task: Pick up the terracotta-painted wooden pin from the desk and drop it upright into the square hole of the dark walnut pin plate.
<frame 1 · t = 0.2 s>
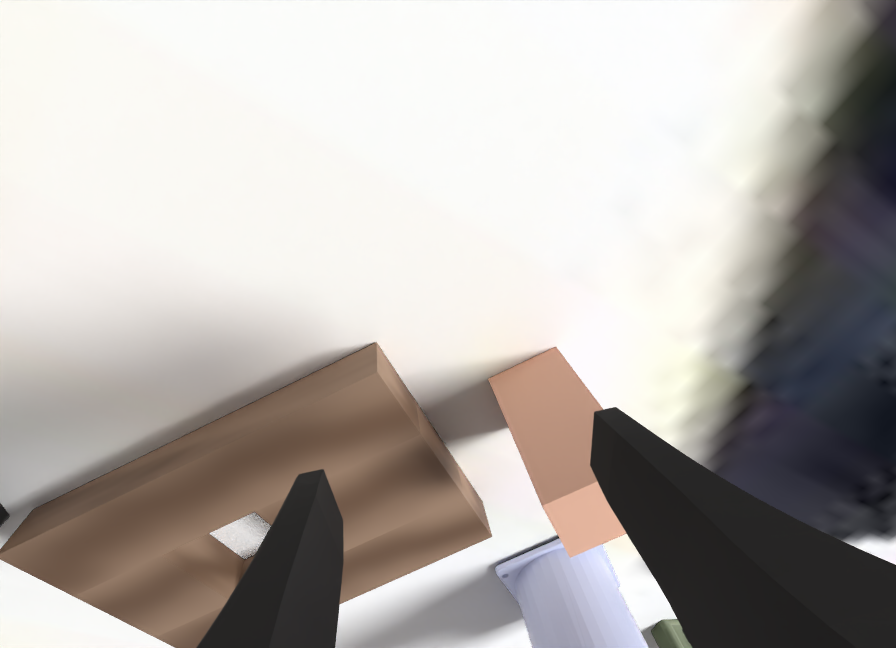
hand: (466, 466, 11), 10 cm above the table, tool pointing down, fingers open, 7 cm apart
pin plate: (284, 505, 24), on the table
handheld radio: (745, 617, 44), on the table
pin: (533, 388, 23), on the table
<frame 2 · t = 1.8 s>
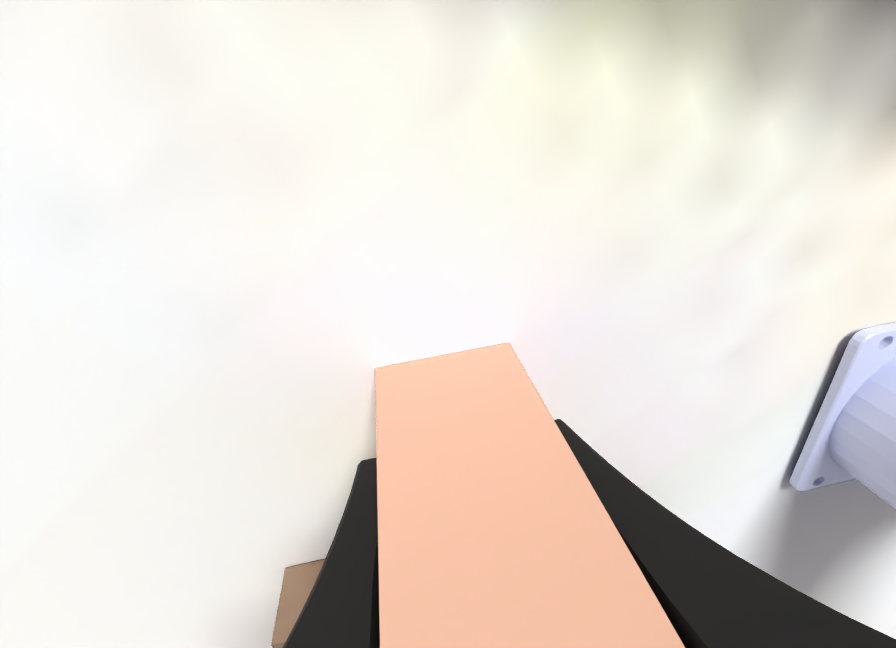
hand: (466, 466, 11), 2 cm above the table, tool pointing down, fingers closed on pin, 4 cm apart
pin: (450, 407, 13), on the table, touching gripper
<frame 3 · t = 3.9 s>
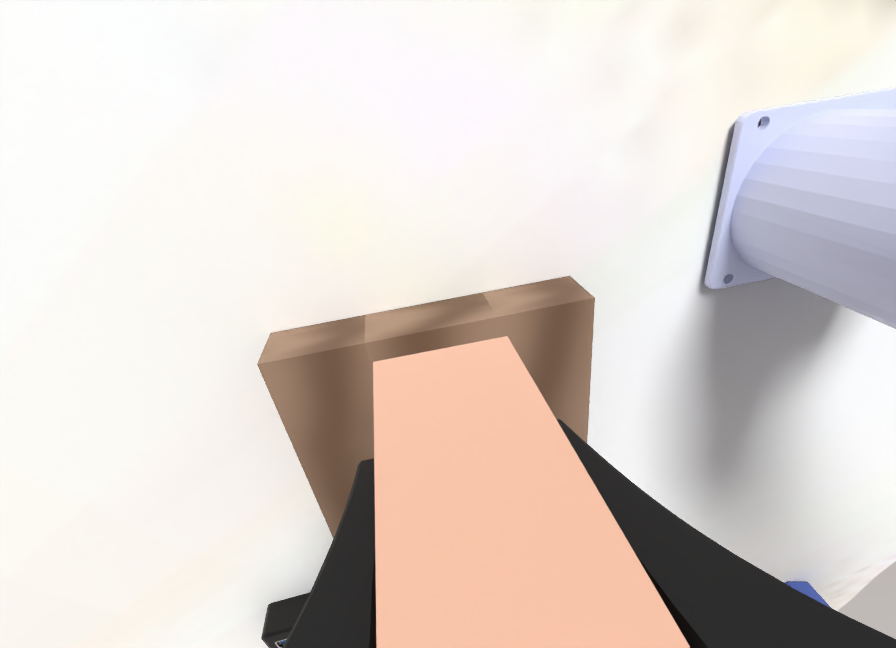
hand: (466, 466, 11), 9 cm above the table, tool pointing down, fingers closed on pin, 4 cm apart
multiport hub: (332, 636, 32), on the table
pin plate: (451, 456, 24), on the table
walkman: (771, 602, 41), on the table
pin: (449, 401, 13), point 7 cm above the table, touching gripper
when the fingers open (4 cm above the table, at t = 6.2 s): pin drops 1 cm, resting in pin plate.
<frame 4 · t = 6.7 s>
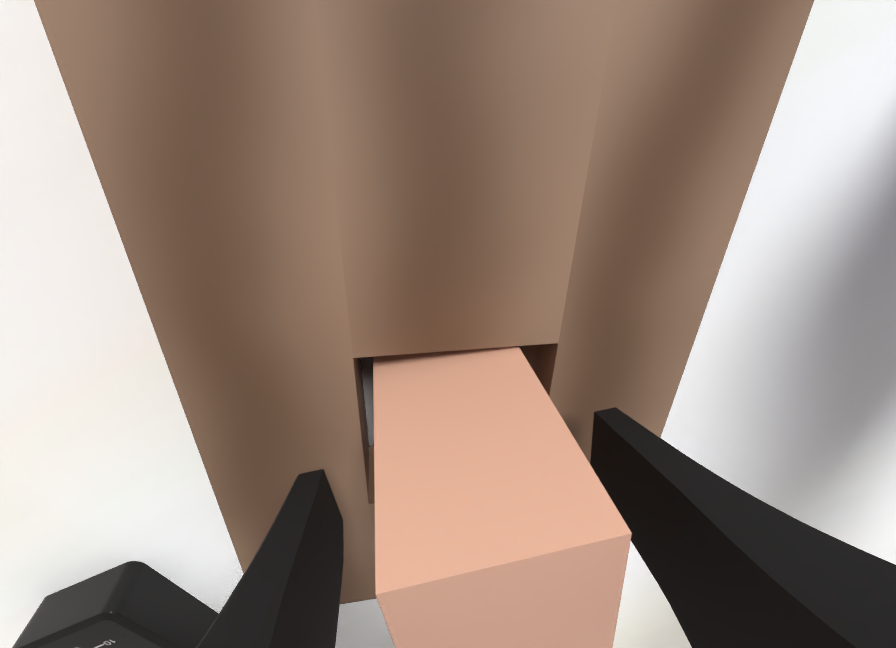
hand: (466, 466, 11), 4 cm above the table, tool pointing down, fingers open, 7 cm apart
multiport hub: (212, 637, 20), on the table
pin plate: (444, 329, 13), on the table
pin: (442, 369, 14), resting in pin plate
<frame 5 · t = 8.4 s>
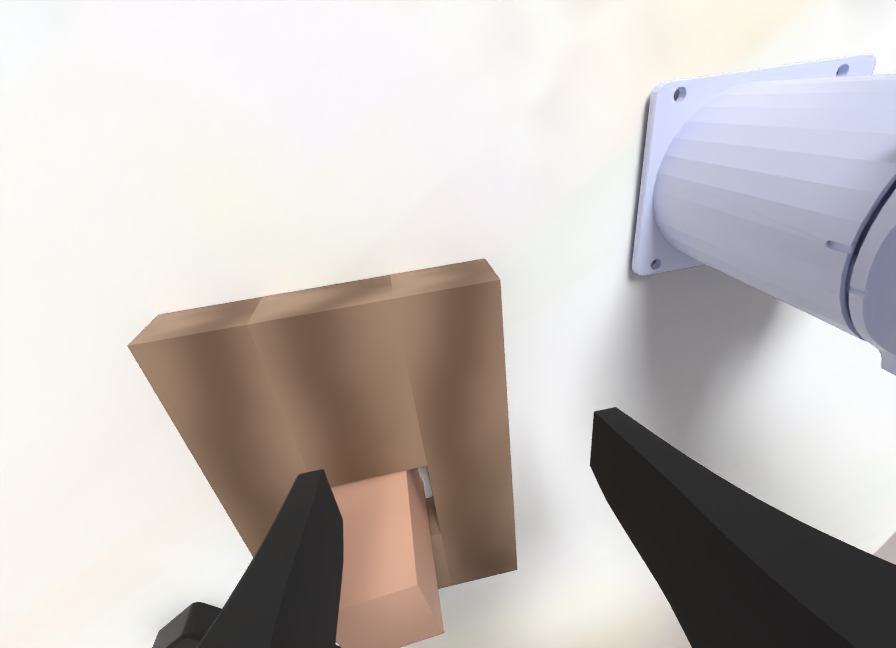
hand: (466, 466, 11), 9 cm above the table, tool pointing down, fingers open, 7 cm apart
multiport hub: (272, 636, 30), on the table
pin plate: (374, 450, 23), on the table
pin: (379, 470, 23), resting in pin plate
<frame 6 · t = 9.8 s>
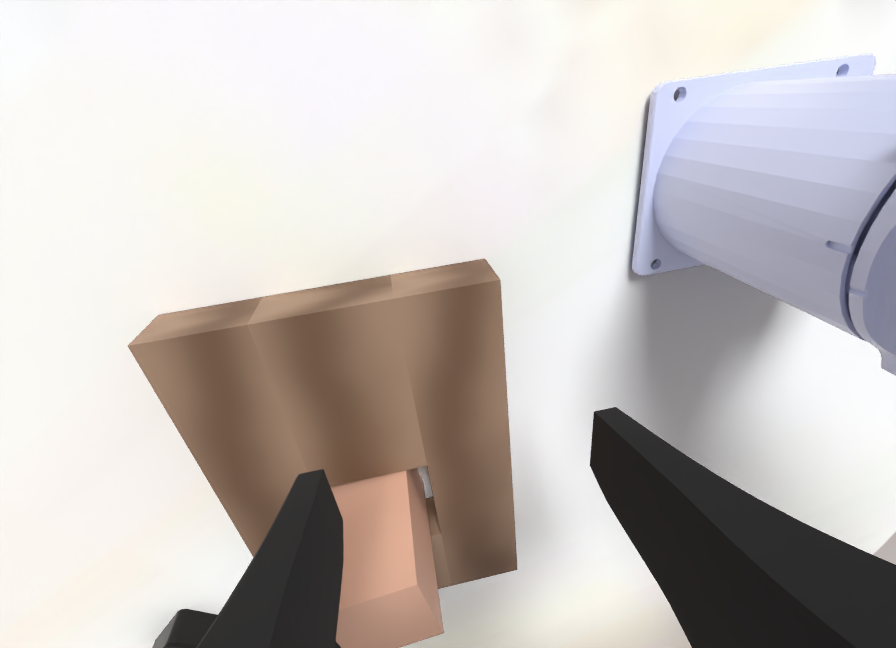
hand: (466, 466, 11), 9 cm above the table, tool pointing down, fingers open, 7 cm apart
multiport hub: (273, 634, 30), on the table
pin plate: (374, 450, 23), on the table
pin: (379, 470, 23), resting in pin plate
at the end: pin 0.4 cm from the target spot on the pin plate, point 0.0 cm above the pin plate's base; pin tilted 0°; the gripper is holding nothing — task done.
